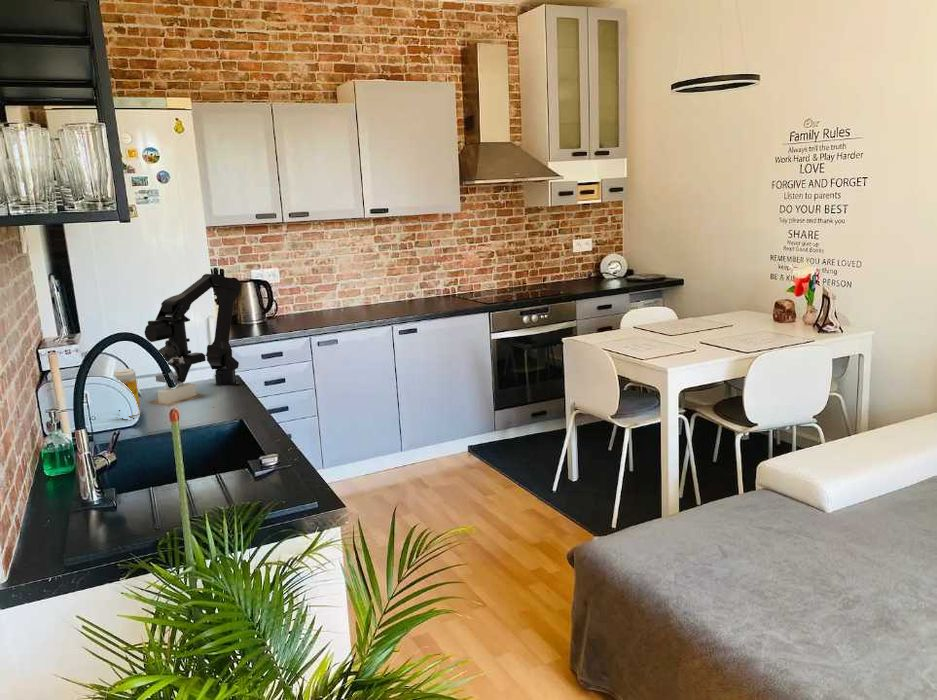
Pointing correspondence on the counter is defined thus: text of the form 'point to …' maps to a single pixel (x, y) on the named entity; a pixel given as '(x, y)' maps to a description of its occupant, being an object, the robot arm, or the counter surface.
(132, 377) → the beer glass
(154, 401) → the walnut board
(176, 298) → the robot arm
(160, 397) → the block
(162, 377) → the clamp bar
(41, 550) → the counter surface
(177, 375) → the bolt bracket
